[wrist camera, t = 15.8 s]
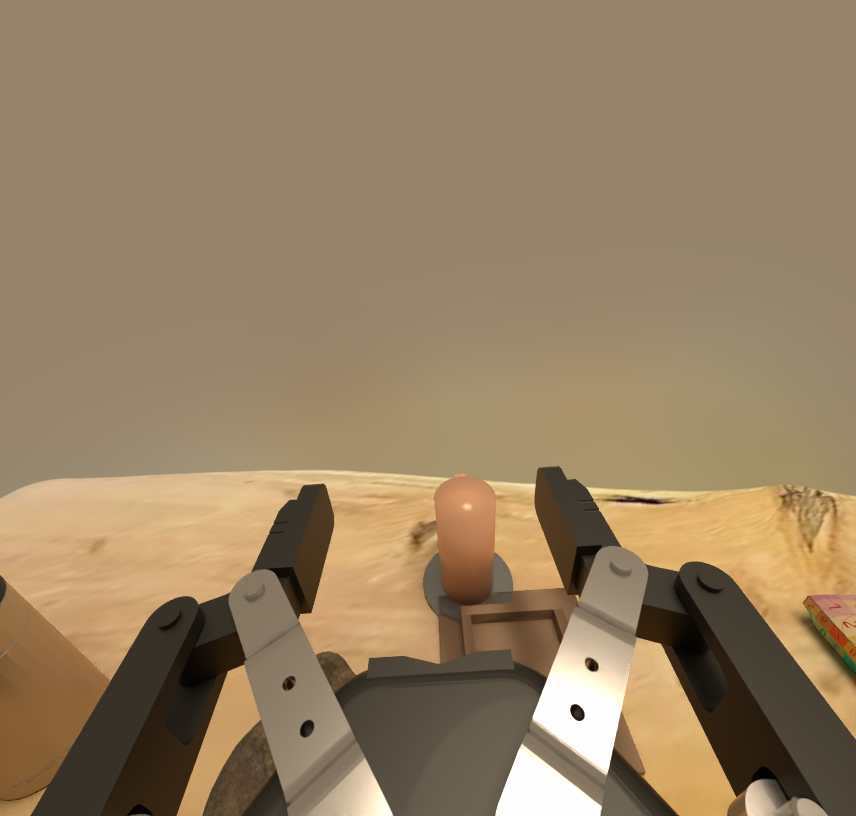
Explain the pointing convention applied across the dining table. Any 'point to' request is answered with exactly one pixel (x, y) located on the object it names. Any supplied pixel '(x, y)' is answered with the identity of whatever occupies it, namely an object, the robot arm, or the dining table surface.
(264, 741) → the decorative stone
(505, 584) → the grey disc
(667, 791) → the dining table surface
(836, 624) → the puzzle game
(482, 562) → the peach orange tall mug
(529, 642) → the holder
